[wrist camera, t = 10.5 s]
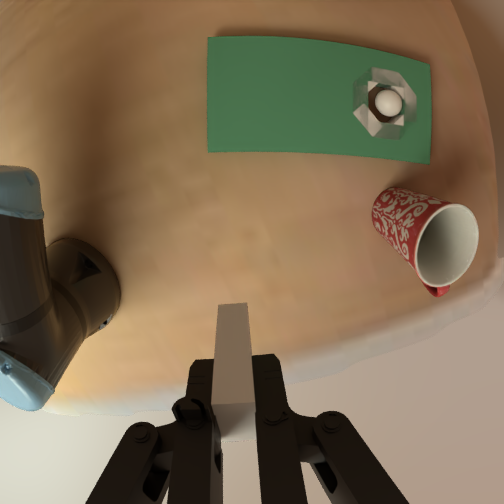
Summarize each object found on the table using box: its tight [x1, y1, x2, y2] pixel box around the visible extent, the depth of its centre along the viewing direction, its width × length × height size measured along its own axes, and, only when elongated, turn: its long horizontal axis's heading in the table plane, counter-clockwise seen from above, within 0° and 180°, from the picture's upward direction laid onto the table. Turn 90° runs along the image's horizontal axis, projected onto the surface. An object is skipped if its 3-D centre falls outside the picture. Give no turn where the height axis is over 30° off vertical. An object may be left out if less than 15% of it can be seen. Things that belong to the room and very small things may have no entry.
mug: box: [372, 187, 479, 297], centre depth 31 cm, size 13×9×14 cm
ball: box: [375, 90, 402, 116], centre depth 30 cm, size 4×4×4 cm
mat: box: [207, 36, 432, 165], centre depth 30 cm, size 28×14×2 cm, turn 90°
